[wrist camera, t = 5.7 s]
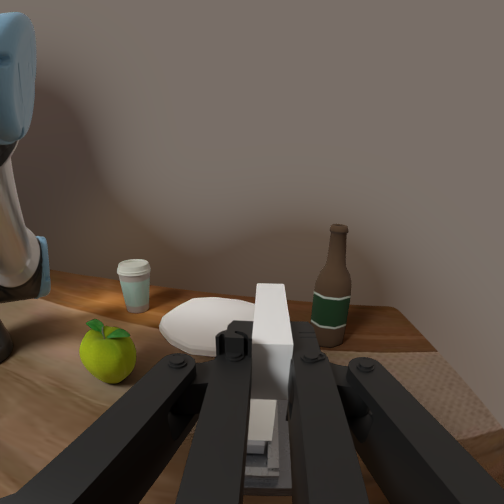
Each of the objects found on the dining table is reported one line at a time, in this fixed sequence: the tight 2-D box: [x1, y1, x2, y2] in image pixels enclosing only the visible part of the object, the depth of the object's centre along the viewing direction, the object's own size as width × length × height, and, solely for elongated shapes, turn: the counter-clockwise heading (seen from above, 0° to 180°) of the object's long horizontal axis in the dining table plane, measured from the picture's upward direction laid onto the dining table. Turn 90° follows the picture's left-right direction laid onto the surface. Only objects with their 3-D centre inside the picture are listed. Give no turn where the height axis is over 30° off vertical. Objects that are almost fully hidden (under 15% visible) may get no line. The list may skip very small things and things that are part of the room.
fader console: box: [243, 397, 292, 496], centre depth 36 cm, size 26×12×4 cm, turn 177°
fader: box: [247, 399, 276, 454], centre depth 28 cm, size 4×4×12 cm
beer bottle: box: [311, 224, 351, 348], centre depth 56 cm, size 8×8×24 cm
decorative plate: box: [159, 297, 255, 357], centre depth 63 cm, size 25×4×25 cm
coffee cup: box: [117, 259, 151, 313], centre depth 68 cm, size 8×8×12 cm
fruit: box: [79, 319, 136, 383], centre depth 41 cm, size 9×9×10 cm
